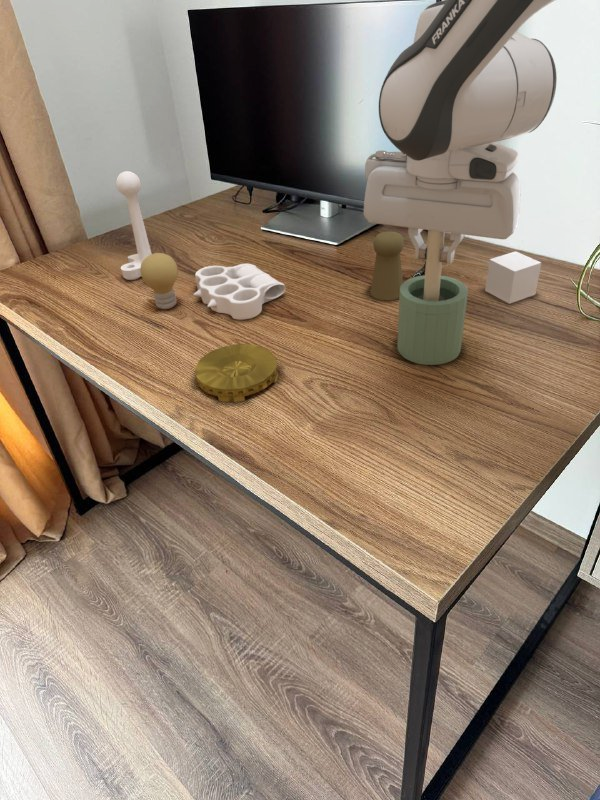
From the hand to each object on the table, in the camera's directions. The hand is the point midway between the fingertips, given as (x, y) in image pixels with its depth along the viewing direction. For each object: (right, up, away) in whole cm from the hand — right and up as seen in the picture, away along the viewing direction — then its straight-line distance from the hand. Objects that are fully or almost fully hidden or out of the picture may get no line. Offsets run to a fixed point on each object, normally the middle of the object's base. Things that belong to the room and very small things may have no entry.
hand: (434, 259), depth 81 cm
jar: (+1, -11, +10) cm, 15 cm away
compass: (-28, -16, +7) cm, 33 cm away
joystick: (-51, +6, +39) cm, 64 cm away
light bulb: (-43, -2, +27) cm, 51 cm away
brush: (+1, -7, +5) cm, 9 cm away
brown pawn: (-3, 0, +26) cm, 26 cm away
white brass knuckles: (-30, 0, +28) cm, 41 cm away
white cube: (+19, -1, +23) cm, 29 cm away
